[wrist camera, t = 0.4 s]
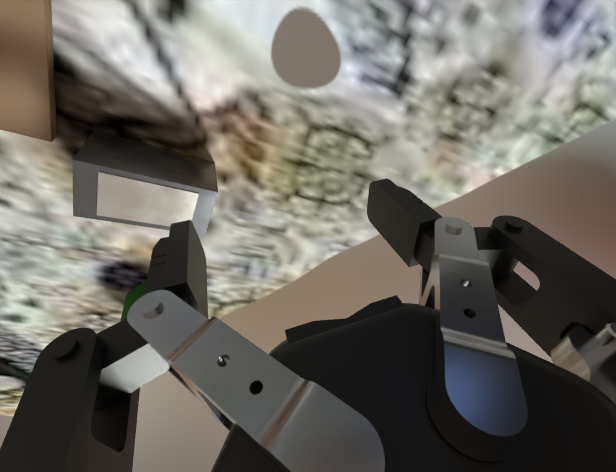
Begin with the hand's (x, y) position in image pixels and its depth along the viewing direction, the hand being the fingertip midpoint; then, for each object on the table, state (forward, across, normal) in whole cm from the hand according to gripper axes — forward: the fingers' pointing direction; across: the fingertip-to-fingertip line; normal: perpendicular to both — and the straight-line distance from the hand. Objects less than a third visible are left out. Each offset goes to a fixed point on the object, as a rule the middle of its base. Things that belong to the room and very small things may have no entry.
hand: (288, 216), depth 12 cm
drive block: (+19, +9, +4) cm, 21 cm away
